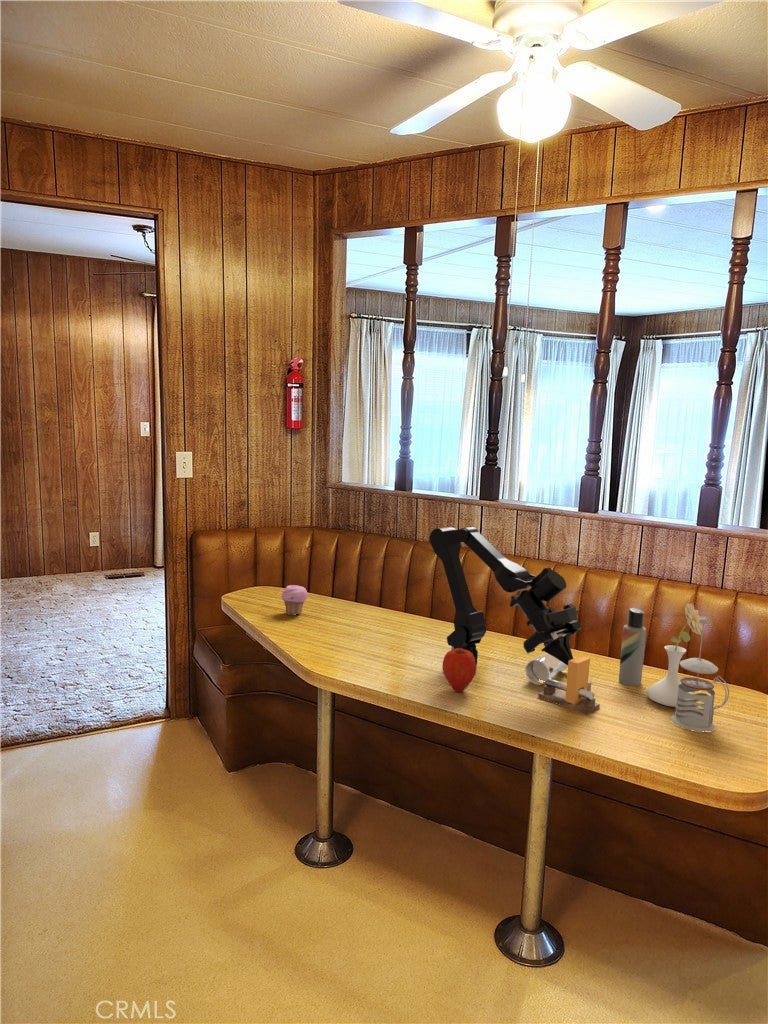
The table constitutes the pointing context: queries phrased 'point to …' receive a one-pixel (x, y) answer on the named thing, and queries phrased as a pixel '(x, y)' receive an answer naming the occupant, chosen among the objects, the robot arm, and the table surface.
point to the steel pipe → (562, 686)
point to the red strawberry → (459, 668)
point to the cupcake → (294, 599)
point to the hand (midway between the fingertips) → (573, 666)
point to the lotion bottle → (632, 649)
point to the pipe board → (559, 698)
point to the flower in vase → (675, 663)
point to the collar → (577, 678)
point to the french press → (697, 695)
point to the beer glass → (544, 668)
